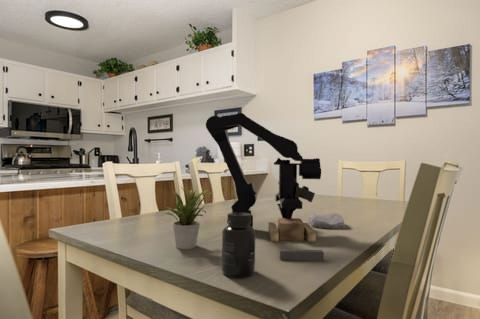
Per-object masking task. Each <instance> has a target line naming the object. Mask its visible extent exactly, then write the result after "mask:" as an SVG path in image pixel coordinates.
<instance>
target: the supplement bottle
mask: <svg viewBox="0 0 480 319" xmlns="http://www.w3.org/2000/svg"><path fill="white" fill-rule="evenodd" d="M251 215H252V213H251V214H249V213H243V212H234V213H232V212H229V213H227V220H226V223H227V224H228V225H227V226H225V227H224V228H223V230H222V232H221V233H222V235H221V236H222V239H221V241H222V242H221V272H222V273H223V274H224V275H225V276H227V277H229V278H238V279H240V278H248V277H251V276H252V275H253V274H254V273H255V270H256V230H255V229H254V228H252V227H251V226H250V223H251Z"/></svg>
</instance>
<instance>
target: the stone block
mask: <svg viewBox="0 0 480 319" xmlns="http://www.w3.org/2000/svg"><path fill="white" fill-rule="evenodd" d="M307 221H308V222H307V223H308V224H309V225H310V224H311V225H310V226H311V227H312V228H319V227H322V228H321V229H330V228H332V229H333V230H340V229H341V230H343V229H344V230H345V229H346V226H345V221H344V219H343V216H342V215H341V214H338V213H328V214H327V213H326V214H321V215H320V214H316V213H312V214H310V215H309V216H308V219H307Z"/></svg>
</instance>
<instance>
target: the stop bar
mask: <svg viewBox="0 0 480 319" xmlns="http://www.w3.org/2000/svg"><path fill="white" fill-rule="evenodd" d="M324 253H325V252H324V250H323V249H297V248H296V249H295V248H293V249H290V248H289V249H285V248H282V249H281V248H280V249H279V259H280V261H281V260H282V261H283V260H284V261H324Z"/></svg>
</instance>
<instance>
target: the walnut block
mask: <svg viewBox="0 0 480 319" xmlns="http://www.w3.org/2000/svg"><path fill="white" fill-rule="evenodd" d="M304 223H305V222H304V221H303V220H302V219H301V218H299V217H297V218H293V217H292V218H282V217H278V218H277V229H278V231H279V236H278V240H280V241H305V237H304Z"/></svg>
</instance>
